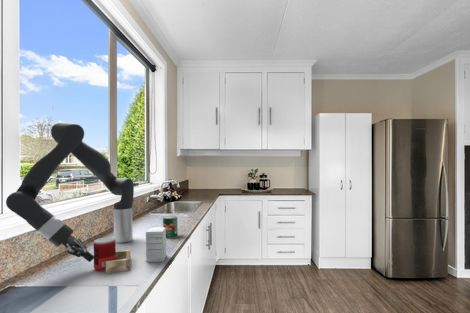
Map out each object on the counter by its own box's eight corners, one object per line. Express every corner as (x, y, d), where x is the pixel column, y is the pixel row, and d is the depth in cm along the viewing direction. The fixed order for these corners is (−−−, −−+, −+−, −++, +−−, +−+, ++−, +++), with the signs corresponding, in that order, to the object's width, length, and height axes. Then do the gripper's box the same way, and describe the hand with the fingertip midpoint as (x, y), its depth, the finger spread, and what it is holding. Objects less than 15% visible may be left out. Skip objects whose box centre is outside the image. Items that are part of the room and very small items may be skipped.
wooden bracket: (105, 273, 104) (105, 262, 104) (109, 261, 116) (109, 252, 116) (130, 269, 107) (129, 259, 107) (130, 258, 119) (130, 249, 119)
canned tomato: (163, 239, 149) (162, 218, 149) (163, 235, 156) (162, 215, 156) (178, 237, 151) (177, 217, 151) (177, 234, 158) (177, 214, 158)
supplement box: (149, 256, 122) (149, 227, 122) (166, 255, 123) (166, 226, 123) (145, 262, 115) (145, 231, 115) (163, 261, 116) (163, 231, 116)
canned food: (119, 264, 113) (119, 237, 113) (105, 272, 105) (105, 243, 105) (104, 262, 115) (103, 236, 115) (89, 270, 107) (89, 241, 107)
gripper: (59, 227, 99) (97, 257, 103) (68, 220, 112) (101, 247, 116) (42, 243, 98) (81, 273, 101) (53, 234, 110) (87, 261, 114)
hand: (92, 259), depth 109 cm, fingers closed
